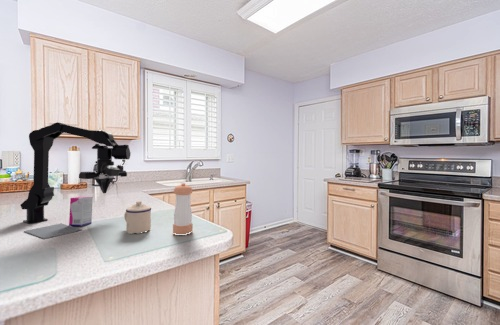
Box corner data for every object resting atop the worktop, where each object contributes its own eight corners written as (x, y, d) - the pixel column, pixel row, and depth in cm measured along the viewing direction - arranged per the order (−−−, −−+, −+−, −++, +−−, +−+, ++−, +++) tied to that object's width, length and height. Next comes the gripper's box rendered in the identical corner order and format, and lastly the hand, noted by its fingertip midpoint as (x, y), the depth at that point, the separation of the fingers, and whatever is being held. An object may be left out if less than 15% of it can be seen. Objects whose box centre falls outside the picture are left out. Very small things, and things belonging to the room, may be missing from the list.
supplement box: (92, 223, 102) (93, 196, 103) (81, 226, 96) (82, 198, 97) (79, 222, 103) (81, 196, 103) (68, 225, 97) (69, 197, 97)
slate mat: (24, 231, 90) (24, 230, 90) (61, 224, 100) (61, 223, 100) (44, 239, 82) (44, 238, 82) (81, 230, 93) (81, 229, 93)
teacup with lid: (156, 229, 96) (156, 200, 95) (137, 235, 87) (137, 204, 87) (134, 225, 100) (134, 198, 100) (114, 231, 92) (115, 201, 92)
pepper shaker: (168, 234, 90) (169, 183, 89) (181, 229, 96) (181, 182, 96) (184, 237, 87) (185, 185, 86) (196, 231, 94) (196, 183, 93)
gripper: (93, 159, 96) (93, 197, 96) (134, 159, 112) (134, 192, 113) (78, 158, 101) (78, 195, 101) (119, 159, 118) (119, 190, 118)
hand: (104, 193), depth 108 cm, fingers closed
